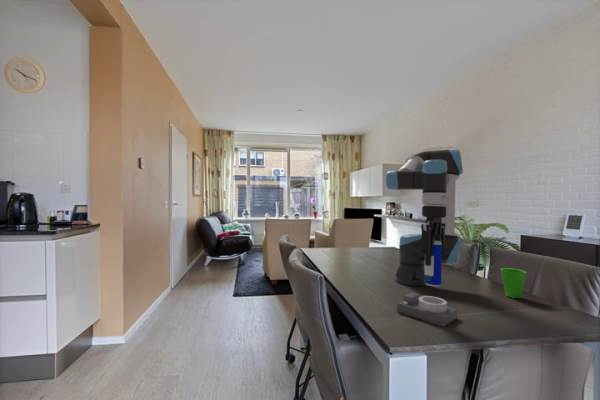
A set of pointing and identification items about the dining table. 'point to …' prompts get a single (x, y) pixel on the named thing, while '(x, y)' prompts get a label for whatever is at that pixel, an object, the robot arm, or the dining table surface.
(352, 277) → the dining table surface
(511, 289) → the cup
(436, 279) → the beverage can
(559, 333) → the dining table surface
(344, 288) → the dining table surface
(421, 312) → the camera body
